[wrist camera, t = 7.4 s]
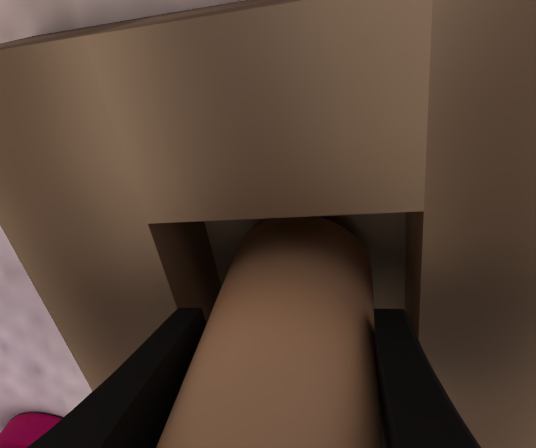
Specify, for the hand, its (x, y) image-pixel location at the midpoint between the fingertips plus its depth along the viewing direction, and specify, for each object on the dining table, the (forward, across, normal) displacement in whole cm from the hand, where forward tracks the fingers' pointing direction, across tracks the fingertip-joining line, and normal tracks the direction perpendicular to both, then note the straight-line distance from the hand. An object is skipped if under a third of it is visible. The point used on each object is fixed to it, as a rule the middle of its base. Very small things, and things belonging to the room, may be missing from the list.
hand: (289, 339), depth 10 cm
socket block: (+5, 0, 0) cm, 5 cm away
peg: (+3, 0, 0) cm, 3 cm away
